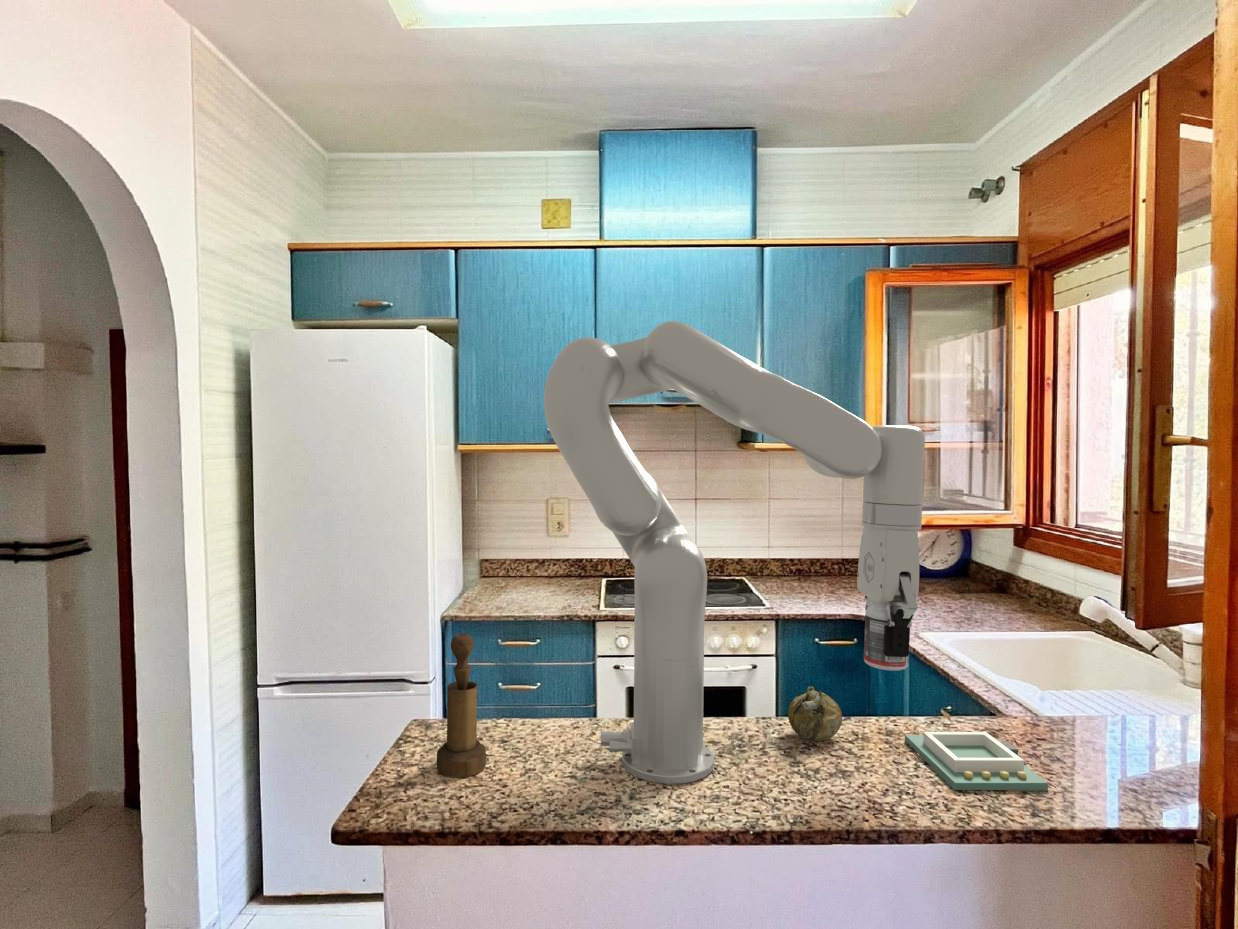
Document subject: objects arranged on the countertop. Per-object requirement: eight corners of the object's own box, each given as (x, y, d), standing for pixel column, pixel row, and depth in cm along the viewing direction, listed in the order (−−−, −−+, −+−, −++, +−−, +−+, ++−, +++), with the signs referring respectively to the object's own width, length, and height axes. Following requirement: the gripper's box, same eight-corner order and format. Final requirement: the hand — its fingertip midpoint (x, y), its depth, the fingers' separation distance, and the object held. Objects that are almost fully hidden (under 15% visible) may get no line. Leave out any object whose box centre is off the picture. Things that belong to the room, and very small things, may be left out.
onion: (852, 746, 102) (853, 692, 102) (801, 750, 101) (802, 695, 101) (827, 726, 110) (828, 675, 110) (779, 729, 108) (780, 678, 108)
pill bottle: (872, 656, 99) (874, 586, 99) (913, 665, 96) (916, 593, 96) (857, 665, 95) (860, 592, 95) (900, 674, 91) (903, 598, 91)
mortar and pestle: (496, 766, 95) (496, 634, 94) (455, 783, 90) (456, 644, 90) (466, 752, 99) (467, 625, 99) (426, 767, 94) (427, 634, 94)
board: (955, 790, 89) (955, 770, 89) (904, 741, 104) (905, 724, 104) (1048, 790, 89) (1048, 770, 89) (984, 741, 104) (985, 724, 104)
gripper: (842, 510, 103) (837, 631, 104) (889, 522, 86) (883, 668, 87) (892, 511, 104) (887, 633, 104) (950, 524, 86) (943, 669, 87)
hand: (886, 647), depth 95 cm, fingers closed on pill bottle, 5 cm apart
